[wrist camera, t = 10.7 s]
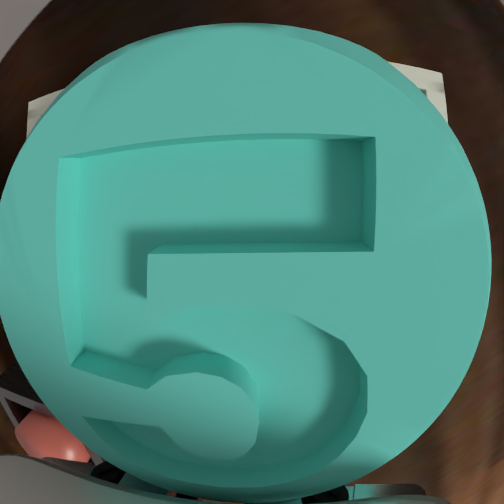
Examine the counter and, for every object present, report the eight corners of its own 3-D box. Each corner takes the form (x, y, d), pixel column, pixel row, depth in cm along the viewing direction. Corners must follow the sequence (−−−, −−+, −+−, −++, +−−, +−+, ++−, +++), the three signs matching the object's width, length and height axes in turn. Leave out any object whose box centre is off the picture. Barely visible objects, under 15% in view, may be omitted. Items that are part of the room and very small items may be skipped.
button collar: (114, 368, 13) (79, 415, 10) (142, 448, 15) (123, 493, 11) (28, 350, 14) (-9, 383, 10) (62, 427, 15) (37, 461, 11)
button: (90, 397, 12) (58, 441, 9) (112, 447, 13) (90, 489, 10) (36, 382, 13) (3, 417, 9) (60, 431, 14) (35, 466, 10)
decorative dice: (356, 127, 10) (500, 58, 2) (349, 328, 12) (418, 487, 4) (144, 135, 11) (-24, 97, 3) (160, 328, 12) (68, 470, 5)
